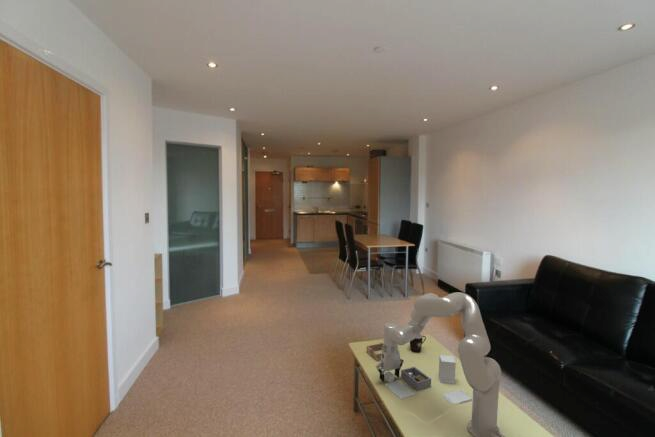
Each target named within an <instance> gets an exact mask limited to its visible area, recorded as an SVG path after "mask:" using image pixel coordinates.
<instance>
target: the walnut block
mask: <svg viewBox="0 0 655 437" xmlns="http://www.w3.org/2000/svg"><path fill="white" fill-rule="evenodd" d="M414 379H415V380H416V381H417V382H419V381H422V380H426V379H425V378H424V377H422V376H420V375H418V376H416V377H414Z"/></svg>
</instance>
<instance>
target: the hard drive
mask: <svg viewBox="0 0 655 437" xmlns="http://www.w3.org/2000/svg"><path fill="white" fill-rule="evenodd" d="M440 396H441V397H442V398H444V399H445V400H446V401H448V402H449V403H450V404H451V405H452V406H453V405H456V404H457V406H458V405H463V404H466V403H470V402H472V400H473V397H471V396H469V395H468V394H467V393H465V392H464V391H463V390H462V389H456V390H452V391H449V392H445V393H441V394H440Z"/></svg>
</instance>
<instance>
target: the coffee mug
mask: <svg viewBox="0 0 655 437" xmlns="http://www.w3.org/2000/svg"><path fill="white" fill-rule="evenodd" d="M426 339H427V338H426V336H425V335H423V334H421V333H420V334H419V335H418V336H417V337H416V338H415V339H413V340H411V341H410V342H409V350H410V351H411V352H412V353H415V354H419V353H421V351H422V345H423V344H424V342H425V341H426Z"/></svg>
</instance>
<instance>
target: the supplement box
mask: <svg viewBox="0 0 655 437" xmlns="http://www.w3.org/2000/svg"><path fill="white" fill-rule="evenodd" d="M438 360H439V362H438V379H439V382H440V383H441V384H448V385H455V384H456V368H457V367H456V366H457V364H456V360H455V358H454V356H453V355H443V354H439V358H438Z"/></svg>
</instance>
